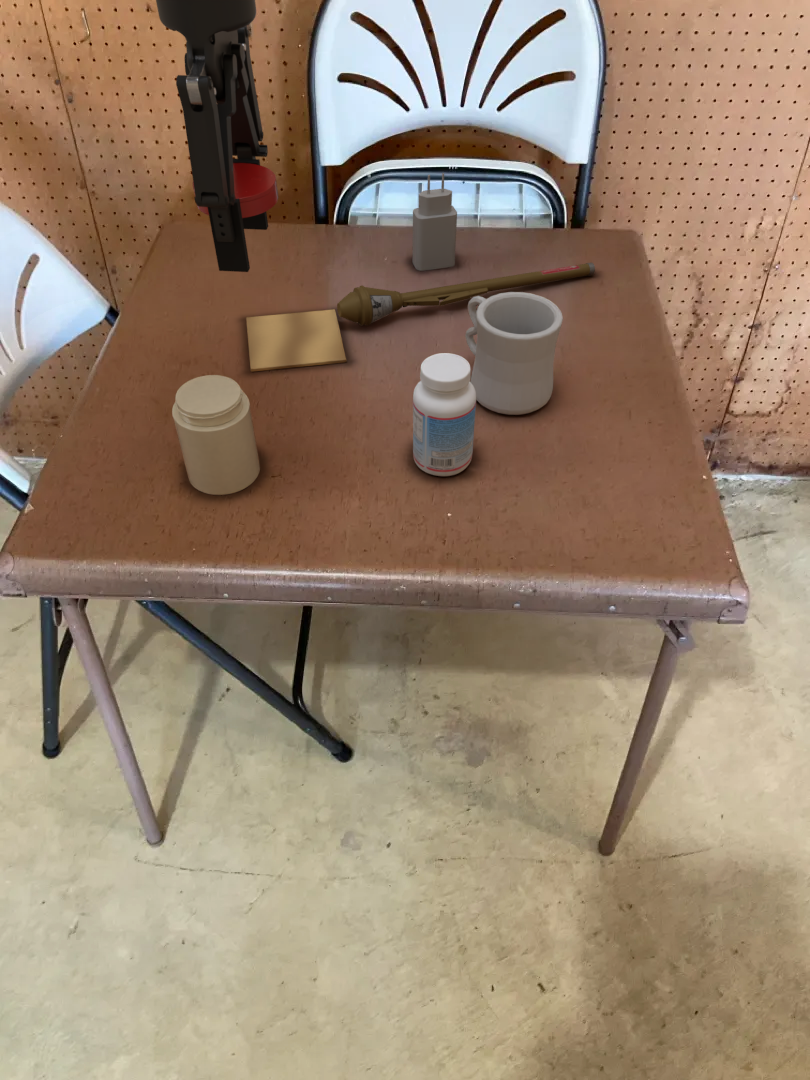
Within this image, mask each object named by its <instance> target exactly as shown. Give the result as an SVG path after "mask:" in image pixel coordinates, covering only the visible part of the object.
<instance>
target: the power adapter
mask: <svg viewBox="0 0 810 1080" xmlns="http://www.w3.org/2000/svg"><path fill="white" fill-rule="evenodd" d="M426 188H427V190H422V191H421V192H420V193H418V207H416V208H414V209H412V257H411V258H412V260H411V261H412V262H411V263H412V265H413V266H414V268H415V270H417V271H419V272H424V271H432V270H439V269H446V268H452V267H455V264H456V246H457V245H456V244H457V223H458V211H457V209H456V208H455V207H454V206H453V205H452V203H453V191H452V190H451V189H448V188H445V173H444V172H442V173H441V188H434V189H431V174H428V175H427V187H426Z"/></svg>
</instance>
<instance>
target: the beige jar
mask: <svg viewBox="0 0 810 1080" xmlns="http://www.w3.org/2000/svg"><path fill="white" fill-rule="evenodd" d="M174 398H175V402H174V404H173V406H172V409H171V416H172V419H173V422H174V428H175V431H176V436H177V438H178V443H179V447H180V451H181V455H182V460H183V463H184V467H185V471H186V475H187V478H188V481H189V483H190V484H191V486H192V487H193V488H194V489H196V490H198V491H199V492H201V493H204V494H207V495H214V496H221V495H222V496H224V495H231V494H235V493H238V492H240V491H242V490H245V489H246V488H248V487H249V486H251V485H252V484H253V483H254V482H255V481H256V480H257V478H258V476H259V474H260V470H261V463H260V457H259V451H258V445H257V440H256V433H255V427H254V422H253V416H252V410H251V409H252V408H251V402H250V399H249V397H248V396H247V394H246V393H245V392H244V391H243V389H242V388H241V386H240V385H239V383H238V382H237V381H236V380H234V379H233V378H231V377H228V376H225V375H221V374H208V375H207V374H206V375H201V376H197V377H194V378H191V379H189V380H188V381H186V382H185V383H183V384H182V385H181V386H180V387H179V388H178V389H177V391H176V393H175V396H174Z"/></svg>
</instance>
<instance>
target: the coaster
mask: <svg viewBox="0 0 810 1080" xmlns="http://www.w3.org/2000/svg"><path fill="white" fill-rule="evenodd" d="M245 320H246V321H245V323H246V331H247V345H248V355H249V367H250V368H249V369H250V372H251V373H252V372H262V371H272V370H274V371H275V370H283V369H292V368H303V367H313V366H321V365H332V364H333V365H334V364H340V363H341V364H342V363H343V364H345V363H347V357H346V352H345V347H344V343H343V338H342V335H341V330H340V325H339V321H338V317H337V311H336V309H335V308H333V309H325V310H312V311H311V310H310V311H302V312H292V313H291V312H289V313H281V314H269V315H268V314H267V315H260V316H259V315H257V316H247V317H245Z"/></svg>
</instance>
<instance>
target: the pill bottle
mask: <svg viewBox="0 0 810 1080" xmlns="http://www.w3.org/2000/svg"><path fill="white" fill-rule="evenodd" d="M471 372H472V370H471V364H470V362H469V361H468V360H467V359H466V358H464V357H463V356H461V355H458V354H455V353H449V352H441V353H435V354H432V355H429V356H428V357H425V359H424V360H423V361H422V362H421V365H420V373H419V379H420V380H419V381H418V382H417V383H416V385H415V387H414V389H413V393H412V395H413V396H412V456H413V460H414V463H415V464H416V466H417V467H418V468H419V469H420V470H421V471H423V472H425V473H426V474H429V475H432V476H436V477H437V476H438V477H450V476H455V475H457V474H460V473H461V472H463V471H464V470H465V469H466V468H468V466H469V465H470V463H471V462H472V459H473V455H474V453H473V452H474V439H475V437H474V436H475V422H476V420H475V419H476V408H477V407H476V406H477V400H476V391H475V388H474V386H473V385H472V384H471V382H470V381H471Z"/></svg>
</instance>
